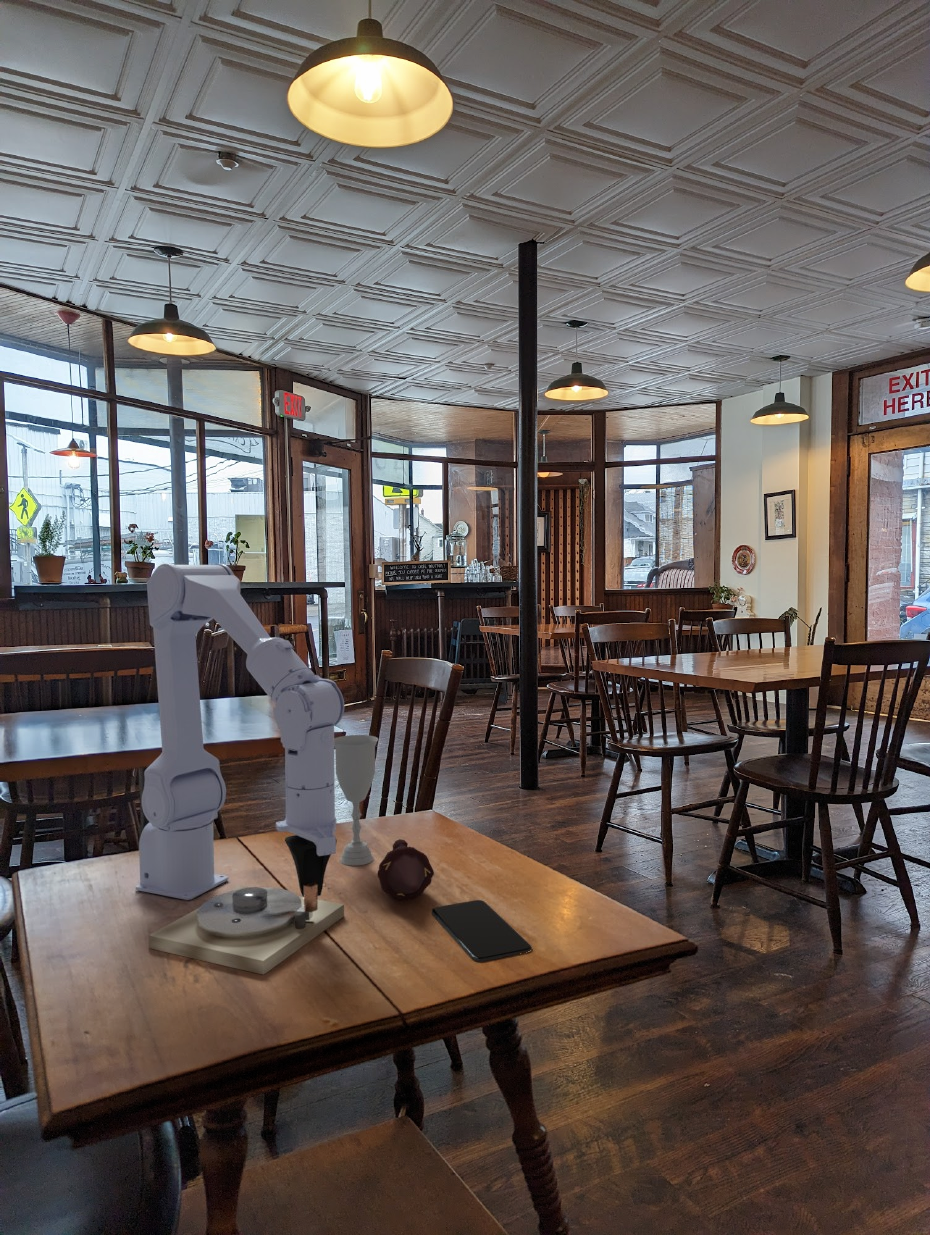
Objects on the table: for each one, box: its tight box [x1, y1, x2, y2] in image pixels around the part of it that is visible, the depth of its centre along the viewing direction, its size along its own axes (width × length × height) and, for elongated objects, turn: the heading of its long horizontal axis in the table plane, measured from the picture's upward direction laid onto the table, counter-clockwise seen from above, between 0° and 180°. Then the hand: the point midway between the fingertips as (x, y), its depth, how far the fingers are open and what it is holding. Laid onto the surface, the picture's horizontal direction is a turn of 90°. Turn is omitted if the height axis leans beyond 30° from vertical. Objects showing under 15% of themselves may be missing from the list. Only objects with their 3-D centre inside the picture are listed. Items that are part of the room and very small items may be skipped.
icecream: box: [376, 838, 435, 901], centre depth 107 cm, size 7×7×15 cm
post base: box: [148, 885, 345, 976], centre depth 97 cm, size 16×16×3 cm
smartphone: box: [431, 899, 533, 963], centre depth 97 cm, size 7×1×15 cm
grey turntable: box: [197, 882, 319, 938], centre depth 96 cm, size 14×12×4 cm
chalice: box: [334, 734, 379, 867], centre depth 121 cm, size 7×7×18 cm
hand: (311, 895), depth 97 cm, fingers closed
